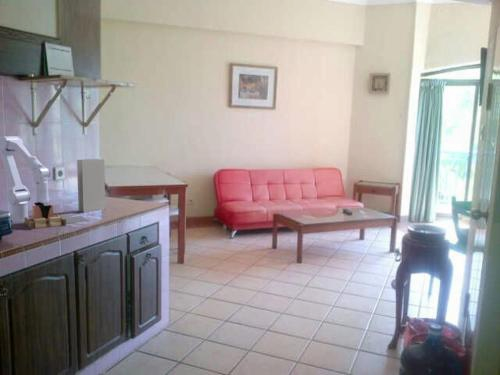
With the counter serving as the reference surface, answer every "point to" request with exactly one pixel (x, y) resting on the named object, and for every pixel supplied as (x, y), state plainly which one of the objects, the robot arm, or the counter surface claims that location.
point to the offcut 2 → (54, 221)
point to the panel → (38, 214)
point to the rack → (31, 224)
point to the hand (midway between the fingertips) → (43, 217)
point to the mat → (75, 219)
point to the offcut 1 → (39, 223)
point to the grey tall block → (91, 185)
